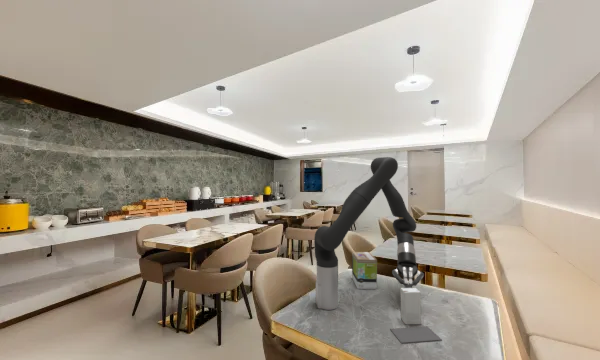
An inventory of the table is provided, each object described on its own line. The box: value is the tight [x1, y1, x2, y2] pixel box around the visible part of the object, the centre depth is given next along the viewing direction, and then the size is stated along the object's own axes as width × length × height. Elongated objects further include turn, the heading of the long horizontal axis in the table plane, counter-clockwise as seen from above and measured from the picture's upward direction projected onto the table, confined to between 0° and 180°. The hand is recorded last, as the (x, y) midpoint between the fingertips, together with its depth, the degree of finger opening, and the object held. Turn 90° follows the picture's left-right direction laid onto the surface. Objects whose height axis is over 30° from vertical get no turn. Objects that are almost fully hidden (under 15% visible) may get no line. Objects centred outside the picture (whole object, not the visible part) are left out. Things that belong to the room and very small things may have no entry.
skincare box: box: [400, 287, 422, 325], centre depth 96 cm, size 6×4×12 cm
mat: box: [390, 325, 443, 345], centre depth 88 cm, size 14×8×1 cm, turn 96°
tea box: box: [351, 251, 378, 290], centre depth 133 cm, size 15×10×15 cm
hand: (409, 294), depth 103 cm, fingers closed
